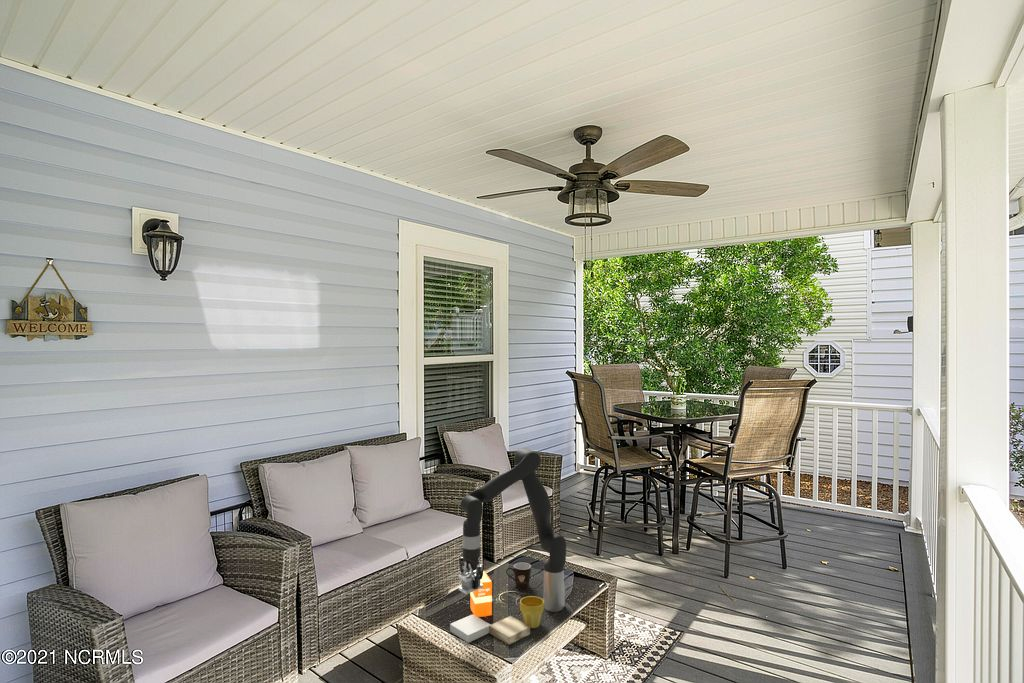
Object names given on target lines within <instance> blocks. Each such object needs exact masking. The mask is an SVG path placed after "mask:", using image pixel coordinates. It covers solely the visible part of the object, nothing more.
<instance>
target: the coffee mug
mask: <svg viewBox="0 0 1024 683" xmlns="http://www.w3.org/2000/svg"><path fill="white" fill-rule="evenodd" d="M509 570H512V572H513V573H514V577H513V576H511V575H510V574H509V573H508V571H509ZM531 572H532V565H531V564H530V563H527V562H517V563H515V564H513V568H512V567H508V568H506V571H505V573H506V575H507V576H508V577H509V578H510V579H512V580H513V581H514V582H515V588H516V589H518V590H527V589H529V586H530V581H531V580H530V579H531Z"/></svg>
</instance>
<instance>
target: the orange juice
mask: <svg viewBox="0 0 1024 683" xmlns="http://www.w3.org/2000/svg"><path fill="white" fill-rule="evenodd" d="M480 583H481V584H483V588H481V589H478V590H476V591H473V592H470V593H469V594H470V596H469V597H470V610H471V612H472V614H473V615H475V616H477V617H478V618H481V617H488V616H492V615H493V614H492V613H493V610H492V609H493V606H492V604H493V581H492V580H491V579H490V577H489V575H488V574H487V572H486V571H485V569H484V570H483V576H482V579H480Z"/></svg>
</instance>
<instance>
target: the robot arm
mask: <svg viewBox="0 0 1024 683" xmlns="http://www.w3.org/2000/svg"><path fill="white" fill-rule="evenodd" d="M513 460H514V465H515V466H514V467H512V468H511V469H510V470H507V471H505V472H502V473H500V474H497V475H495V476H493V478H491V479H489V481H487V482H486V483H485V484H483V485H482V486H481V487H479V488H477V489H474V490H473V491H471V492H469V493H467V494H466V495H465V496H464V497H463V498H462V499H461V501H460V507H461V508H460V509H461V510H462V511H464V512H465V513H466V514H467V515H466V519H465V520H464V521H463V523H462V524H463V525H462V541H461V542H462V545H461V546H462V547H461V551H462V552H461V553H462V554H461V555H462V556H461V557H459V558H458V560H459V561H458V562H459V569H460V573H461V574H464V573H467V572H471V575H472V576H473V589H477V588H478V580H480V579H482V576H483V570H484V571H485V566H484V564H482V565H481V564H480V561H479V560H480V558H481V523H482V522H481V521H482V518H483V513H484V511H483V510H484V507H483V503H485V502H487V503H488V502H491V501H493V500H494V499H495V498H496V497H498V496H499V495H500V494H501V493H502V492H504V491H505V490H507V489H508V488H510V487H511V486H513V485H514V484H516V483H517V482H519V481H520V480H521V481H522V484H523V487H524V491H525V494H526V497H527V500H528V505H529V508H530V511H531V513H532V516H533V519H534V523H535V526H536V531H537V535H538V540H539V544H540V547H541V548H542V549H543V551H544V552H546V553H548V554H549V557H548V559H547V560H545V561H544V562H543V584H542V585H543V588H542V589H543V591H542V592H543V593H542V595H543V596H542V599H543V600H544V610H545V611H548V612H552V613H553V612H555V613H557V612H560V611H563V610H564V607H565V606H566V585H565V583H564V582H565V581H564V580H565V579H564V578H565V573H564V572H565V564H566V562H567V560H566V558H567V542H566V539H565V537H564V536H563V535H561V534H558V532H557V533H556V532H555V531H554V529H553V526H552V523H551V521H550V519H551V518H550V517H551V512H552V504H551V500H550V497H549V494H548V491H547V490H546V489H545V486H544V485H543V483H542V482H541V481H540V479H539V477H538V476H537V474H536V471H537V470H538V469H539V467H540V466H541V462H542V459H541V455H539V454H538V453H537V451H533V450H531V449H528V448H519V449H518V450H517V451H516V452H515V453H514V459H513ZM475 570H476V571H475ZM473 571H475V572H473ZM475 574H476V577H475ZM479 575H480V576H479Z"/></svg>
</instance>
